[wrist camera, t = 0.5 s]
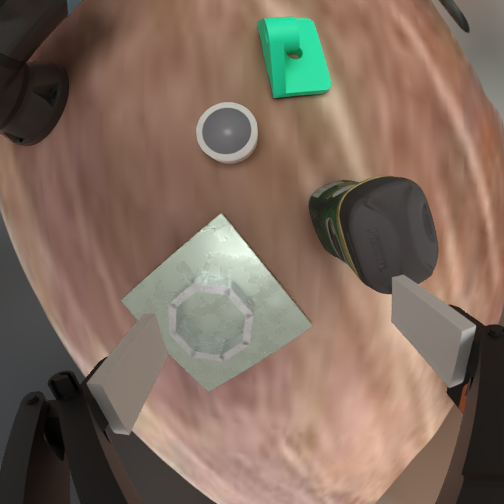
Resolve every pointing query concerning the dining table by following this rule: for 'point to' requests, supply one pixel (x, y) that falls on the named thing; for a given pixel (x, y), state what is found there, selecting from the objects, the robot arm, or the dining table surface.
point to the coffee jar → (377, 229)
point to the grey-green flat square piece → (217, 305)
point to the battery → (459, 392)
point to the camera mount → (293, 70)
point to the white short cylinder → (227, 133)
